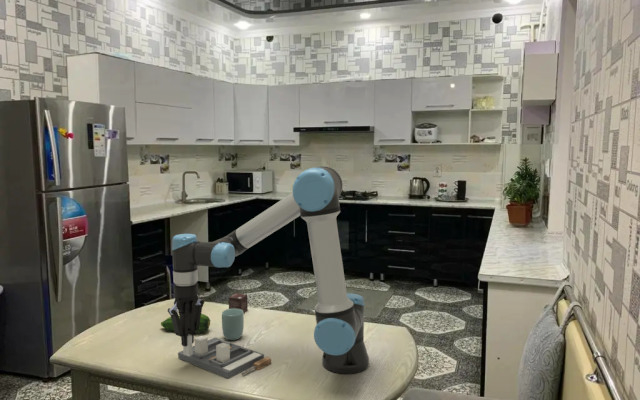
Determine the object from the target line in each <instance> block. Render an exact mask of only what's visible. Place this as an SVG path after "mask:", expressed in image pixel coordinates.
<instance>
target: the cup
mask: <svg viewBox="0 0 640 400" xmlns="http://www.w3.org/2000/svg"><path fill="white" fill-rule="evenodd" d="M244 316H245V315H244V313H243V310H241V309H229V308H228V309H225V310H223V311H222V312H221V328H222V329H221V330H222V335H223V337H224V338H225V339H226V340H230V341H236V340H238V339H240V338H241V337H242V335H243V333H244V328H245V327H244V323H245V320H244V318H245V317H244Z"/></svg>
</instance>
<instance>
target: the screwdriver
mask: <svg viewBox="0 0 640 400" xmlns="http://www.w3.org/2000/svg"><path fill="white" fill-rule="evenodd" d="M271 364H272V358H271V357H268V356H264V358H263V359H261V360H259V361H257V362H255V363H254V366H252V367H250V368H248V369H246V370H244V371H242V372H241V375H242V376H244V375H246V374H247V373H249V372H251V371H254V370H256V371H260V370H262V369H265V368H267V366H270V365H271Z"/></svg>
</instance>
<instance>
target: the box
mask: <svg viewBox="0 0 640 400" xmlns="http://www.w3.org/2000/svg"><path fill="white" fill-rule="evenodd" d="M228 309H241V310H243V313H246V312H247V311H249V310H248V294H247V293H246V294H245V293H239V292H238V293H237V292H235V293H233V294H232V295H230V296H228Z"/></svg>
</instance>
